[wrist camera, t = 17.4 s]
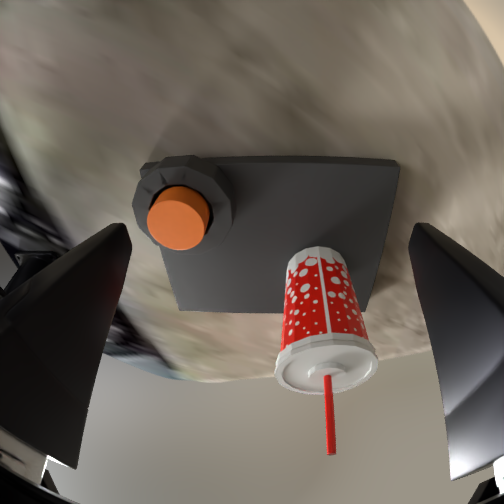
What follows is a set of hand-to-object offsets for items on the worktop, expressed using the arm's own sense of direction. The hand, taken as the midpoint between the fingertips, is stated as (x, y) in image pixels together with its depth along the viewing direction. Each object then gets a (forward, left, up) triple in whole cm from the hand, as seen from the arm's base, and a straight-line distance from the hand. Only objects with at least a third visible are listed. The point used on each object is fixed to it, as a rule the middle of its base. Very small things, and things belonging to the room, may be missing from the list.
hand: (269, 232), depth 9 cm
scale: (0, -9, -12) cm, 15 cm away
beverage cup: (+3, -11, -11) cm, 16 cm away
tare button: (-6, -5, -9) cm, 12 cm away
